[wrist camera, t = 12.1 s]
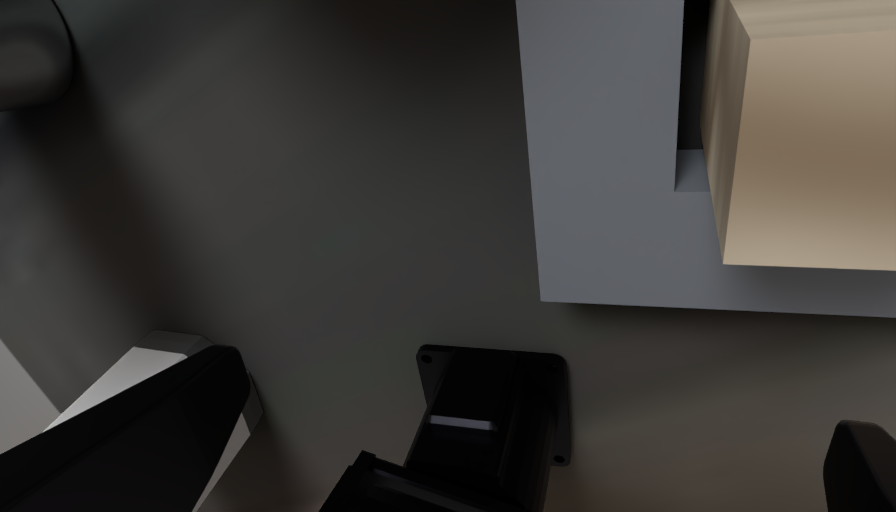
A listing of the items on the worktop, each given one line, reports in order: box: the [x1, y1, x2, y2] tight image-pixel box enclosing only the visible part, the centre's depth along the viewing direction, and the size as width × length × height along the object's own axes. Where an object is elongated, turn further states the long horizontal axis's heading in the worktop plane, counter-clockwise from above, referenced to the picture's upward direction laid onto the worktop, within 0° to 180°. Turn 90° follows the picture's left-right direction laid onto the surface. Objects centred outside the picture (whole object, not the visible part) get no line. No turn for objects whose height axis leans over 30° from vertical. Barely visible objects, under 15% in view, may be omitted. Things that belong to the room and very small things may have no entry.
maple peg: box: [699, 0, 896, 271], centre depth 14 cm, size 4×4×8 cm
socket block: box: [516, 0, 896, 318], centre depth 15 cm, size 14×14×3 cm
